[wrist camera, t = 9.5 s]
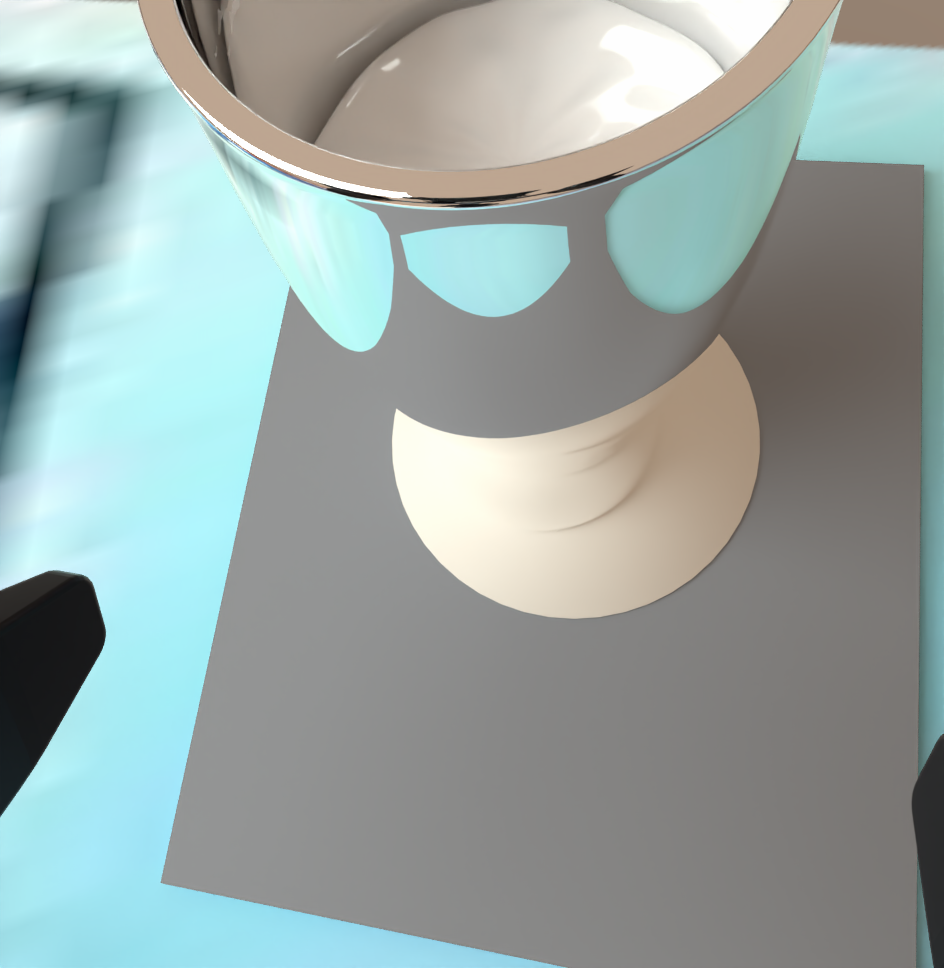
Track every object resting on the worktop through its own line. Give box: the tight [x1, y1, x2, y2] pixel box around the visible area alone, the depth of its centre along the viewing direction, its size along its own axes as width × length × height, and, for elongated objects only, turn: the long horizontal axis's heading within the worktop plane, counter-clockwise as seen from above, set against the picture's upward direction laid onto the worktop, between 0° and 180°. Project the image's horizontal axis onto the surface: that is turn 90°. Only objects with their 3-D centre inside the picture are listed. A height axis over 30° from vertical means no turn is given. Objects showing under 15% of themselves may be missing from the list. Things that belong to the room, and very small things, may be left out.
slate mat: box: [161, 160, 924, 968], centre depth 21 cm, size 22×18×1 cm
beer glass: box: [137, 0, 843, 531], centre depth 14 cm, size 7×7×15 cm
